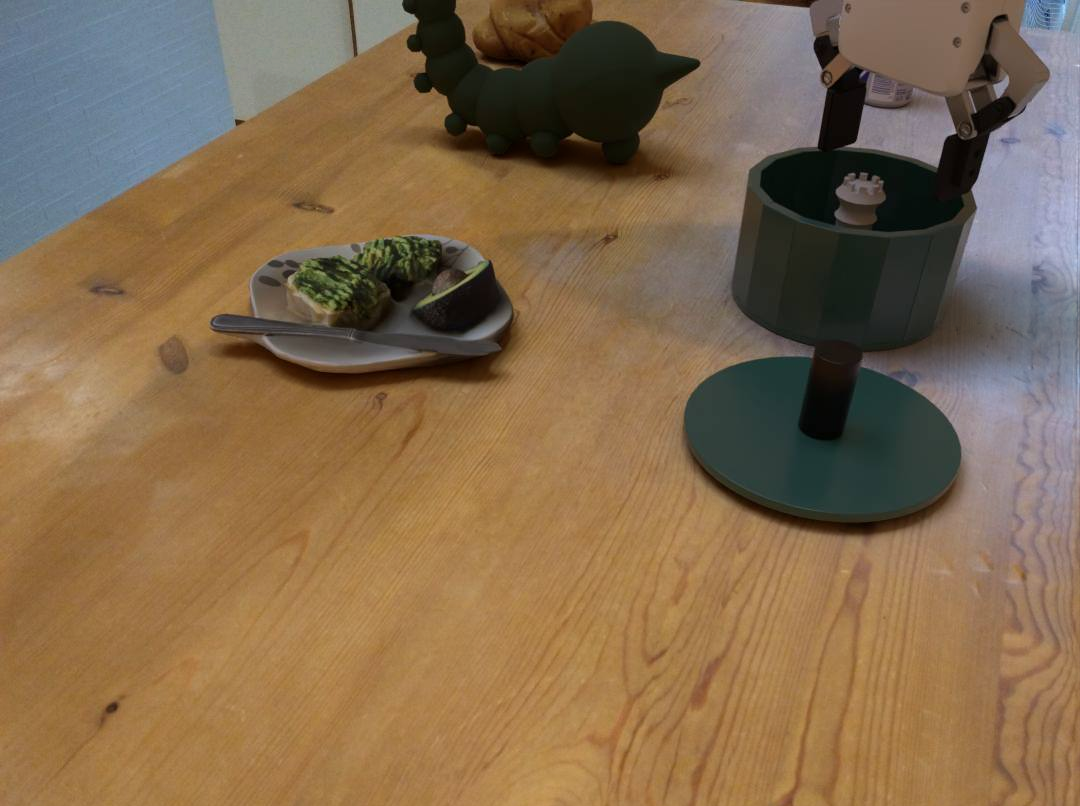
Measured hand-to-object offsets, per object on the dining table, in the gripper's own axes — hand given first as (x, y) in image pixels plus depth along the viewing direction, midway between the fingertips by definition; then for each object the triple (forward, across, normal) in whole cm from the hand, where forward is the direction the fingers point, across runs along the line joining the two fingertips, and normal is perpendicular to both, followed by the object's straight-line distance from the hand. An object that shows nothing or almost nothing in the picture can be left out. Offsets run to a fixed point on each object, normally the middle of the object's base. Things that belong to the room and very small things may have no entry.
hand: (891, 170), depth 69 cm
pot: (+9, +1, +2) cm, 9 cm away
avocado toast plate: (+8, +15, +30) cm, 34 cm away
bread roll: (+9, +57, -10) cm, 59 cm away
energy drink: (+10, +28, -33) cm, 44 cm away
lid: (+8, -11, +16) cm, 21 cm away
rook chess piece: (+9, +1, +2) cm, 9 cm away
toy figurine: (+9, +34, +4) cm, 35 cm away
